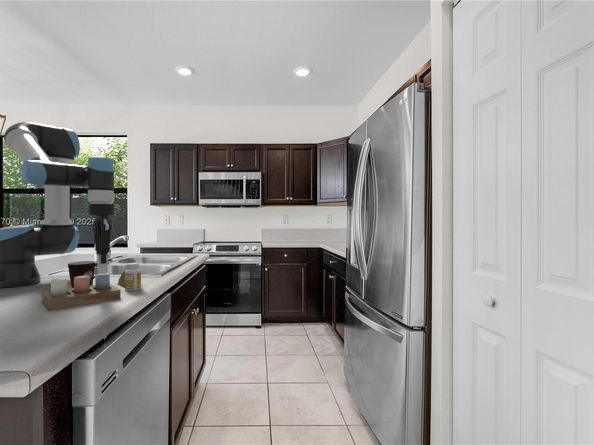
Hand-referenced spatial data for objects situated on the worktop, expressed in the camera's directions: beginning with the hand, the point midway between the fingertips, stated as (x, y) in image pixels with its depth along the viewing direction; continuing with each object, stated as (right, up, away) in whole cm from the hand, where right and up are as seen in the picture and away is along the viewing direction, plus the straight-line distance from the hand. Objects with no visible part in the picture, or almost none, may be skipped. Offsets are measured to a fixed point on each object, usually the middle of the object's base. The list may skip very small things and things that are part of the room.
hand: (102, 272), depth 110 cm
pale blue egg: (0, -6, 0) cm, 6 cm away
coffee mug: (-13, -8, +12) cm, 19 cm away
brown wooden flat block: (-4, -8, -4) cm, 10 cm away
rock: (0, -8, +17) cm, 19 cm away
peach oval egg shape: (-4, -6, -4) cm, 8 cm away
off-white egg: (-9, -6, -8) cm, 13 cm away
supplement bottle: (+5, -8, +11) cm, 14 cm away
